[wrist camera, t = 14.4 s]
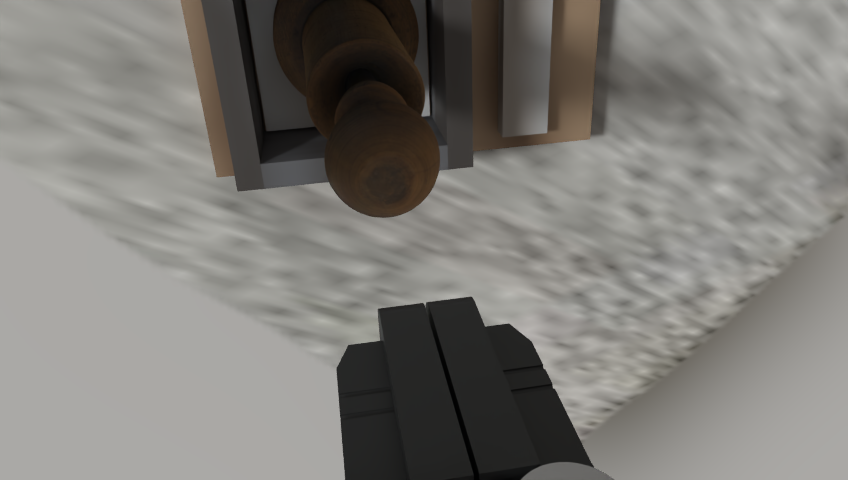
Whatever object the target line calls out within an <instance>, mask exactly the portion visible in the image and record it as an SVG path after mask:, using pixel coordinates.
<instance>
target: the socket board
mask: <svg viewBox="0 0 848 480" xmlns="http://www.w3.org/2000/svg"><path fill="white" fill-rule="evenodd" d="M410 1H411V3H412V5H413V8H414V10H415V14H416V17H417V22H418V29H419V43H418V50H417V55H416V58H415V61H414V63H415V65H416V66H417V68H418V70H419V72H420V74H421V77H422V79H423V83H424V88H425V104H424V109H423V113H422V115H421V116H422V117H423V118H424V119H425V120H426V121H427V122H428V124H429V125H430V127H431V128H432V130H433V132H434V134H435V136H436V139H437V142H438V145H439V151H440V167H439V170H447V169H457V168H466V167H473V151H479V150H489V149H499V148H509V147H518V146H528V145H538V144H548V143H557V142H567V141H577V140H587V139H590V133H591V119H592V106H593V93H594V80H595V67H596V53H597V40H598V27H599V14H600V0H410ZM181 4H182V9H183V14H184V19H185V24H186V29H187V34H188V38H189V43H190V48H191V53H192V58H193V63H194V68H195V73H196V77H197V82H198V87H199V92H200V97H201V102H202V107H203V112H204V116H205V121H206V126H207V131H208V136H209V141H210V146H211V151H212V156H213V160H214V165H215V170H216V175H217V177H225V176H235V180H236V185H237V190H238V191H247V190H257V189H266V188H276V187H285V186H295V185H304V184H314V183H323V182H329V180H328V178H327V175H326V170H325V163H324V154H325V147H326V143H327V140H328V139H326V138H325V137H324V136H323V135H322V134H321V133H320V132H319V131H318V129H317V128H316V126H315V125H314V123H313V121H312V119H311V117H310V115H309V111H308V107H307V101H306V97H305V96H304V95H302V94H301V93H300V92H299V91H298V90H297V89H296V88H295V87H294V86H293V85H292V84H291V82H290V81H289V80H288V78H287V77H286V75H285V74H284V72H283V70H282V68H281V66H280V64H279V62H278V59H277V56H276V52H275V48H274V42H273V19H274V12H275V7H276V4H277V0H181Z"/></svg>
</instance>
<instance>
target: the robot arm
mask: <svg viewBox="0 0 848 480" xmlns="http://www.w3.org/2000/svg"><path fill="white" fill-rule="evenodd" d="M378 321H379V332H380V341H376V342H369V343H361V344H354V345H348V347H347V349H346V351H345V353H344V355H343V357H342V359H341V361H340V363H339V365H338V367H337V380H338V393H339V406H340V417H341V431H342V444H343V456H344V469H345V480H614V479H613V478H611V477H610V476H609V475H607V474H605V473H604V472H602V471H600V470H598V469H595V468H594V466H593V465H592V463H591V461H590V460H589V457H588V455H587V453H586V452H585V449H584V447H583V445H582V443H581V441H580V439H579V437H578V435H577V433H576V431H575V429H574V427H573V425H572V423H571V421H570V419H569V417H568V415H567V413H566V411H565V409H564V407H563V404H562V402H561V400H560V398H559V396H558V394H557V392H556V390H555V389H553V386H552V382H551V380H550V378H549V376H548V374H547V372H546V370H545V369H543V364H542V362H541V360H540V358H539V356H538V354H537V352H536V350H535V348H534V346H533V344H532V342H531V341H530V340H529V339H528V338H526V337H525V336H524V335H523V334H521V333H520V332H519V331H518V330H516V329H515V328H514V327H513V326H511V325H510V324H502V325H495V326H487V327H485V326H484V323H483V321H482V318H481V316H480V313H479V311H478V308H477V306H476V304H475V301H474V299H473V298H472V297H465V298H457V299H450V300H442V301H434V302H427V303H426V308H425V305H424V304H423V303H420V304H412V305H404V306H396V307H388V308H381V309H378Z"/></svg>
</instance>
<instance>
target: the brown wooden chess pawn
mask: <svg viewBox="0 0 848 480" xmlns="http://www.w3.org/2000/svg"><path fill="white" fill-rule="evenodd" d="M273 42H274V48H275V52H276V56H277V59H278V62H279V64H280V66H281V68H282V70H283V72H284V74H285V75H286V77H287V78H288V80H289V81H290V82H291V84H292V85H293V86H294V87H295V88H296V89H297V90H298V91H299V92H300V93H301V94H302V95H304V96H305V97H306V101H307V107H308V111H309V115H310V117H311V119H312V121H313V123H314V125H315V126H316V128H317V129H318V131H319V132H320V133H321V134H322V135H323V136H324V137H325V138H326V139H328V140H327V143H326V147H325V154H324V163H325V170H326V175H327V178H328V180H329V183H330V185H331V187H332V188H333V190H334V192H335V193H336V194H337V195H338V197H339V198H340V199H341V200H342V201H343V202H344V203H345V204H347V205H348V206H349V207H351V208H352V209H354V210H356V211H357V212H360V213H362V214H365V215H368V216H372V217H382V218H384V217H394V216H398V215H401V214H404V213H406V212H408V211H410V210H412V209H414V208H415V207H416V206H418V205H419V204H420V203H421V202H422V201H423V200H424V199H425V198H426V197H427V196H428V194H429V193H430V192H431V190H432V188H433V186H434V184H435V182H436V179H437V176H438V173H439V167H440V151H439V145H438V142H437V139H436V136H435V134H434V132H433V130H432V128H431V127H430V125H429V124H428V122H427V121H426V120H425V119H424V118H423V117H422V116H421V115H422V113H423V109H424V104H425V88H424V83H423V79H422V77H421V74H420V72H419V70H418V68H417V66H416V65H415V63H414V61H415V58H416V55H417V50H418V43H419V29H418V22H417V17H416V14H415V10H414V8H413V5H412V3H411V1H410V0H277V4H276V7H275V12H274V19H273Z"/></svg>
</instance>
